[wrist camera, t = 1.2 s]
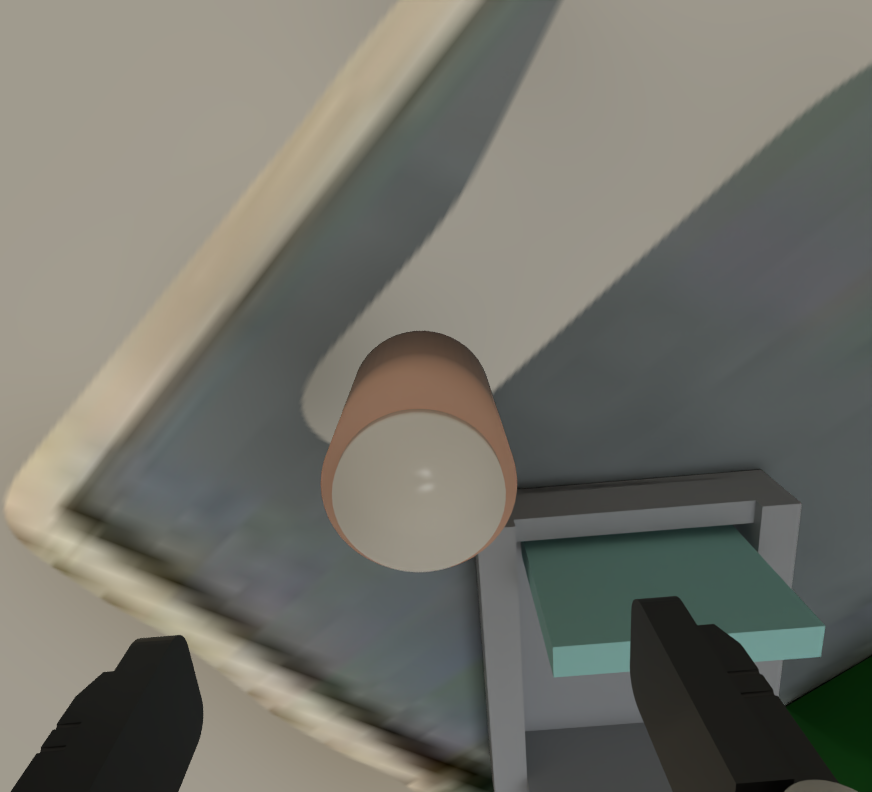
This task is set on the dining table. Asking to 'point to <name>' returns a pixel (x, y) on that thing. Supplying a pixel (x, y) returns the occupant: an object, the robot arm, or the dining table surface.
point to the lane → (612, 692)
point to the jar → (419, 457)
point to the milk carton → (841, 725)
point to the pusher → (661, 595)
